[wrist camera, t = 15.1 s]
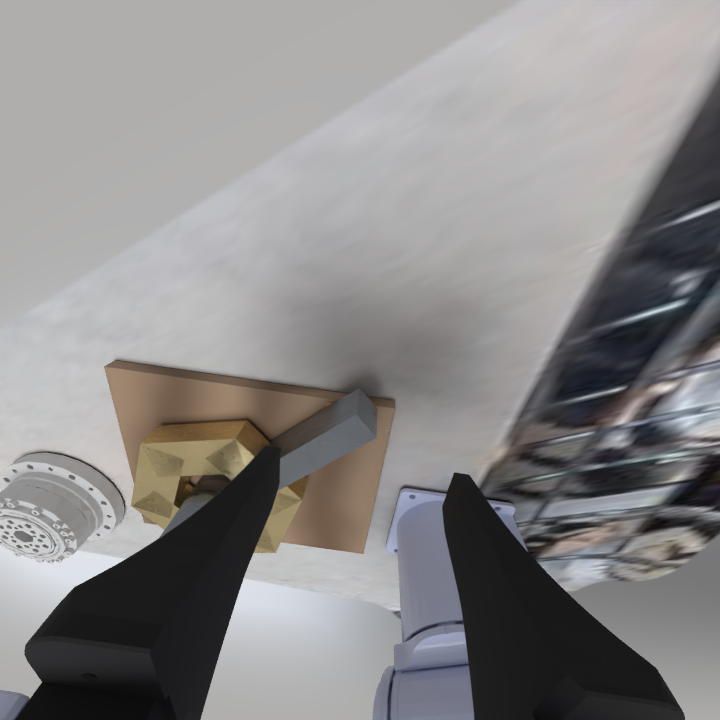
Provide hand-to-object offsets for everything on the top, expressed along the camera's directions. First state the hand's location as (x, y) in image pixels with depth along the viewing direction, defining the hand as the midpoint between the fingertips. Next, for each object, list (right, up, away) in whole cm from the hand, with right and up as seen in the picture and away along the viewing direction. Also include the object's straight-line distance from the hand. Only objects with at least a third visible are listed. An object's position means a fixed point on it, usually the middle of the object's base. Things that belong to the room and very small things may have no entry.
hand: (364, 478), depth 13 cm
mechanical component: (-27, -7, +16) cm, 32 cm away
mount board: (-9, -4, +13) cm, 16 cm away
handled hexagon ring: (-8, -3, +11) cm, 13 cm away
